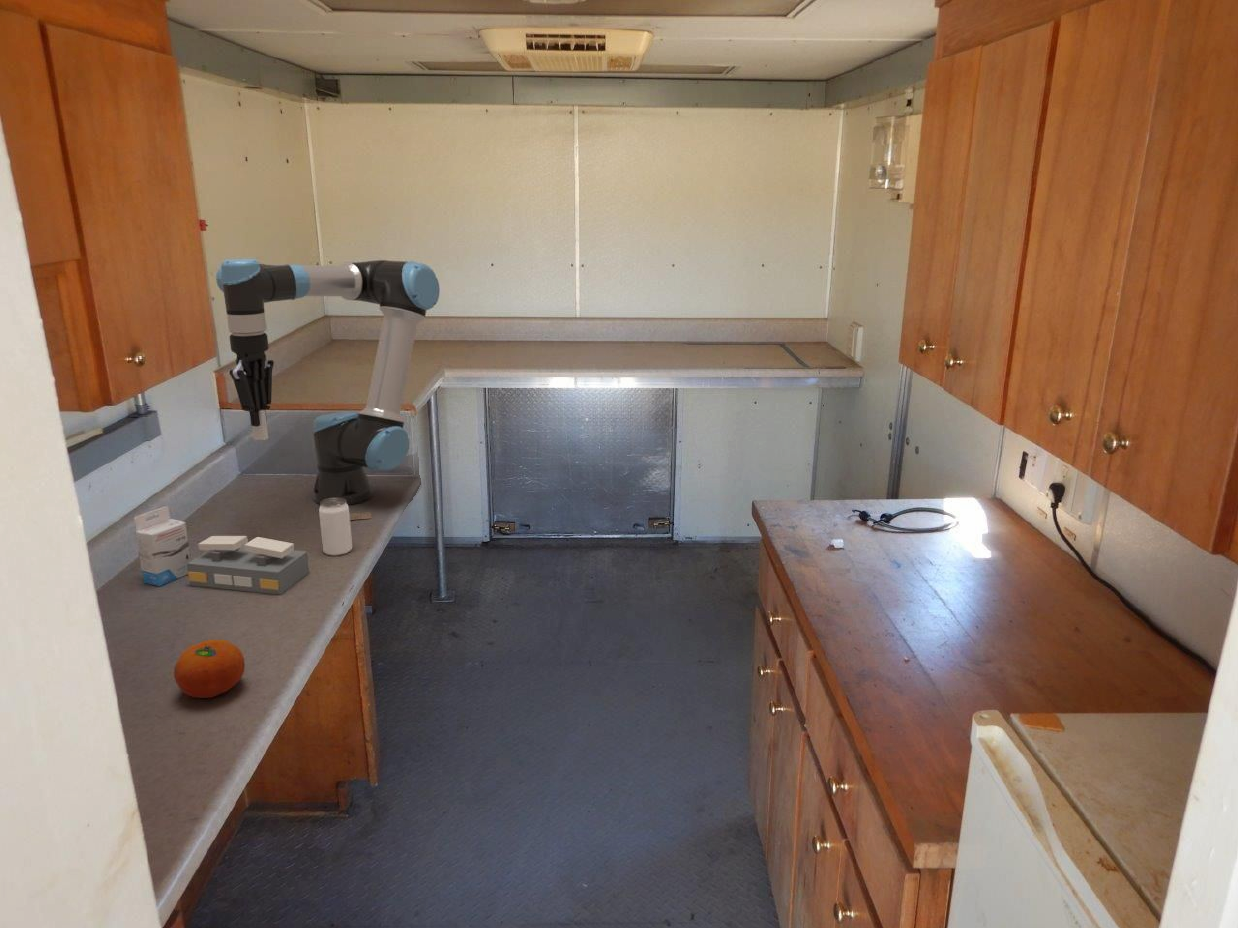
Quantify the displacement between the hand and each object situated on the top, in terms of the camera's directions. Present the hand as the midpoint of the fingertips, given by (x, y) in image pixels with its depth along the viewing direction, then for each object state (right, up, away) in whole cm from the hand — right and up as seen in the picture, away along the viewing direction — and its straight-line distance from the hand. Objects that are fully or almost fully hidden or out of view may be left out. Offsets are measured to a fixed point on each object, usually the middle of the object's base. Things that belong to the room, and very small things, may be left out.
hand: (260, 438), depth 194 cm
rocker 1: (-4, -24, -9) cm, 26 cm away
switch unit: (+1, -30, -8) cm, 31 cm away
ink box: (-17, -30, -7) cm, 35 cm away
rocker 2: (+6, -25, -11) cm, 27 cm away
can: (+15, -26, +7) cm, 31 cm away
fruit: (+12, -43, -49) cm, 67 cm away
